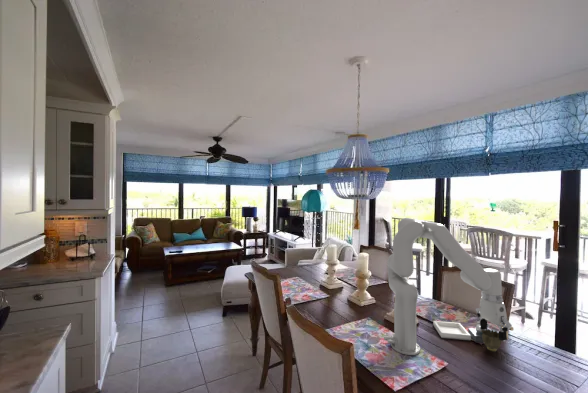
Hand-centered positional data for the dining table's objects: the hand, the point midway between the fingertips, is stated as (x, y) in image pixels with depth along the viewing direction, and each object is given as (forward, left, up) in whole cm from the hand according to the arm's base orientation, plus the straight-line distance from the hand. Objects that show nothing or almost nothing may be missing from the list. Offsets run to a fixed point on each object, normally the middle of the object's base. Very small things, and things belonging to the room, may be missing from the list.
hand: (493, 334), depth 121 cm
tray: (-13, +14, -7) cm, 20 cm away
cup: (-1, 0, -8) cm, 8 cm away
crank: (+3, +6, -4) cm, 7 cm away
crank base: (-1, +10, -7) cm, 12 cm away
